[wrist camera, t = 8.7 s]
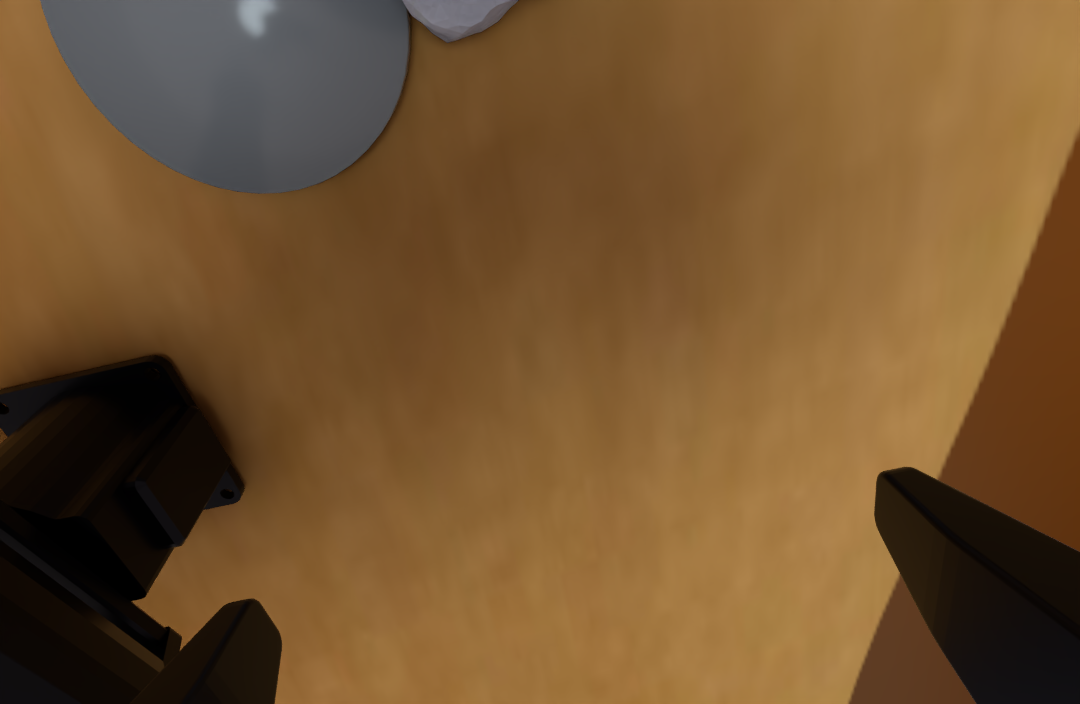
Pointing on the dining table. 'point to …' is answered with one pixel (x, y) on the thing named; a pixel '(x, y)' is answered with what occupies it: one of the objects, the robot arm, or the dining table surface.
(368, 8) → the slate coaster
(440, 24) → the stone block
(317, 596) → the dining table surface
